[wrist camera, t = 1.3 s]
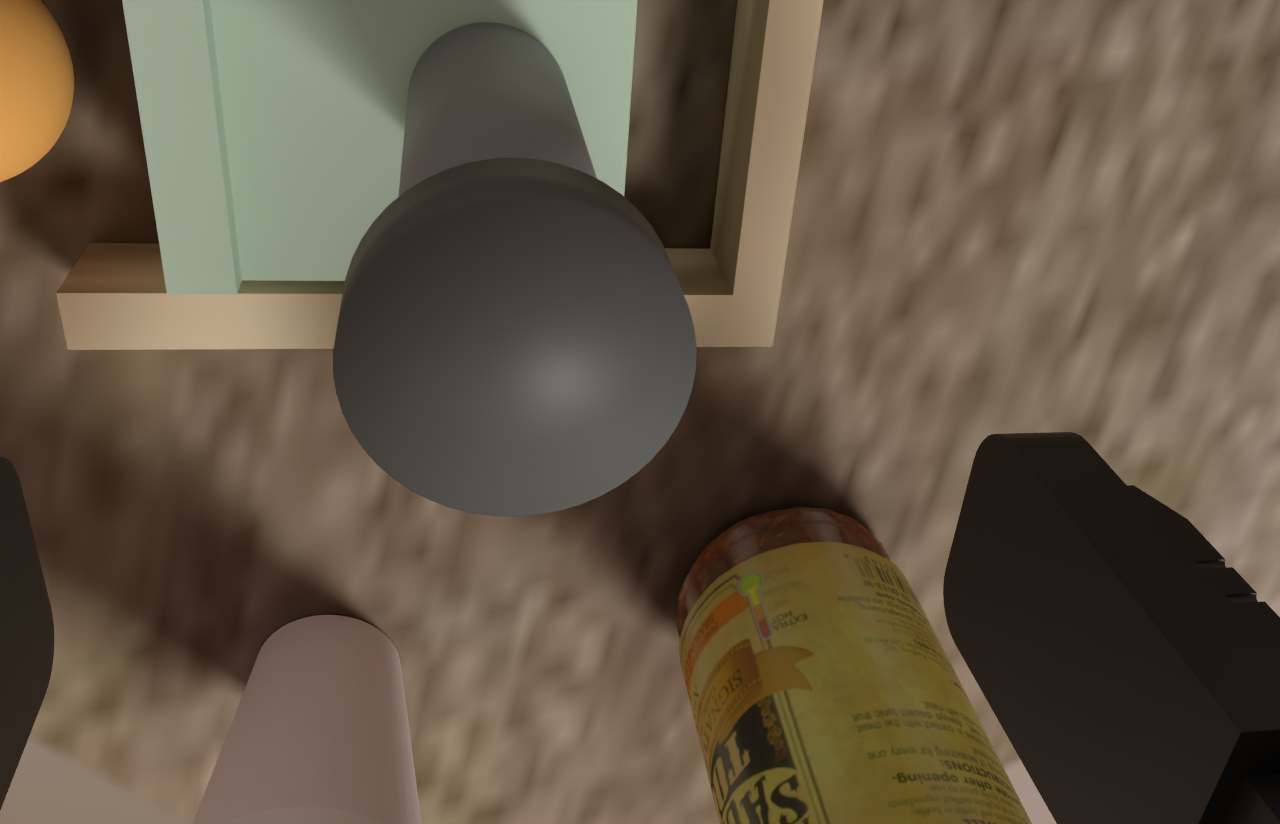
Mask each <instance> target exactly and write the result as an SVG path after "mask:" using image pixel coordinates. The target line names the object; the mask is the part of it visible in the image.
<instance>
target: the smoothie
mask: <svg viewBox="0 0 1280 824" xmlns="http://www.w3.org/2000/svg"><path fill="white" fill-rule="evenodd" d="M193 824H421V817H420V809H419V802H418V794H417V786H416V779H415V771H414V763H413V756H412V748H411V740H410V733H409V725H408V717H407V710H406V702H405V694H404V687H403V679H402V671H401V664H400V658H399V655H398V652H397V650H396V648H395V646H394V644H393V643H392V642H391V640H390V639H389V638H388V637H387V636H386V635H385V634H384V633H383V632H381V631H380V630H379V629H377V628H376V627H374V626H372V625H370V624H368V623H366V622H364V621H361V620H358V619H355V618H351V617H346V616H340V615H317V616H310V617H306V618H302V619H299V620H296V621H293V622H291V623H289V624H286V625H285V626H283V627H281V628H280V629H278V630H277V631H275V632H274V633H273V634H272V635H271V636H270V637H269V638H268V639H267V640H266V641H265V643H264V644H263V646H262V647H261V649H260V651H259V654H258V656H257V659H256V661H255V664H254V667H253V669H252V672H251V674H250V677H249V680H248V682H247V685H246V687H245V690H244V693H243V695H242V698H241V700H240V703H239V706H238V708H237V711H236V713H235V716H234V719H233V721H232V724H231V726H230V729H229V732H228V734H227V737H226V739H225V742H224V745H223V747H222V750H221V752H220V755H219V757H218V760H217V763H216V765H215V768H214V770H213V773H212V776H211V778H210V781H209V783H208V786H207V789H206V791H205V794H204V796H203V799H202V802H201V804H200V807H199V809H198V812H197V815H196V817H195V820H194V822H193Z"/></svg>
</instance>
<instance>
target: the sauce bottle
mask: <svg viewBox="0 0 1280 824" xmlns="http://www.w3.org/2000/svg"><path fill="white" fill-rule="evenodd" d="M678 599H679V607H678V611H677V627H678V632H679V637H680V645H679V653H680V662H681V666H682V670H683V674H684V678H685V682H686V687H687V691H688V695H689V699H690V703H691V707H692V711H693V715H694V719H695V724H696V728H697V732H698V736H699V740H700V744H701V748H702V752H703V757H704V761H705V765H706V769H707V773H708V777H709V781H710V785H711V789H712V793H713V797H714V801H715V806H716V810H717V814H718V818H719V822H720V824H1031V821H1030V819H1029V817H1028V815H1027V813H1026V811H1025V809H1024V807H1023V806H1022V803H1021V802H1020V799H1019V798H1018V795H1017V794H1016V792H1015V790H1014V788H1013V786H1012V784H1011V782H1010V780H1009V778H1008V776H1007V774H1006V772H1005V770H1004V768H1003V766H1002V764H1001V762H1000V760H999V758H998V756H997V754H996V752H995V750H994V748H993V746H992V744H991V742H990V740H989V739H988V737H987V735H986V733H985V731H984V729H983V727H982V725H981V723H980V721H979V719H978V717H977V715H976V713H975V711H974V709H973V707H972V705H971V703H970V701H969V699H968V697H967V695H966V693H965V691H964V689H963V687H962V685H961V683H960V681H959V679H958V677H957V675H956V673H955V671H954V669H953V667H952V665H951V663H950V661H949V659H948V657H947V655H946V653H945V651H944V649H943V648H942V646H941V644H940V642H939V640H938V638H937V636H936V634H935V632H934V630H933V628H932V626H931V624H930V622H929V620H928V618H927V617H926V615H925V613H924V611H923V609H922V607H921V605H920V603H919V601H918V599H917V598H916V596H915V594H914V592H913V590H912V588H911V586H910V585H909V583H908V581H907V579H906V578H905V576H904V574H903V573H902V572H901V571H900V570H899V569H898V568H897V566H896V565H895V564H894V563H893V562H891V561H890V559H889V556H888V554H887V553H886V551H885V549H884V547H883V545H882V544H881V543H880V542H879V541H878V540H877V539H876V538H875V537H874V536H873V535H872V534H871V533H870V532H869V530H867V529H865V528H864V526H863V525H862V524H860V523H859V522H858V521H857V520H855V519H852V518H850V517H849V516H847V515H843V514H840V513H836V512H834V511H832V510H829V509H826V508H809V507H800V506H798V507H794V508H789V509H784V510H773V511H769V512H767V513H764V514H759V515H755V516H752V517H749V518H746V519H744V520H741V521H739V522H738V523H736V524H734V525H733V526H731V527H730V528H729V529H728V530H727V531H723V532H722V533H721V534H720V535H719V536H718V537H716V538H715V539H714V540H713V541H712V542H711V543H710V544H708V545H707V546H706V547H705V549H704V550H703V551H702V552H701V554H700V555H699V556H698V558H697V559H696V561H695V562H694V564H693V566H692V567H691V568H690V570H689V573H688V574H687V576H686V578H685V580H684V582H683V587H682V588H681V590H680V592H679V598H678Z"/></svg>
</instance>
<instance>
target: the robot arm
mask: <svg viewBox="0 0 1280 824" xmlns="http://www.w3.org/2000/svg"><path fill="white" fill-rule="evenodd" d="M943 595H944V608H945V614H946V619H947V623H948V627H949V630H950V633H951V636H952V638H953V640H954V642H955V644H956V646H957V648H958V650H959V651H960V653H961V655H962V657H963V658H964V660H965V662H966V664H967V665H968V667H969V669H970V671H971V673H972V674H973V676H974V678H975V680H976V681H977V683H978V685H979V687H980V688H981V690H982V692H983V694H984V696H985V697H986V699H987V701H988V703H989V704H990V706H991V708H992V710H993V711H994V713H995V715H996V717H997V719H998V720H999V722H1000V724H1001V726H1002V727H1003V729H1004V731H1005V733H1006V734H1007V736H1008V738H1009V740H1010V742H1011V743H1012V745H1013V747H1014V749H1015V750H1016V752H1017V754H1018V756H1019V757H1020V759H1021V761H1022V763H1023V765H1024V766H1025V768H1026V770H1027V771H1028V773H1029V775H1030V777H1031V779H1032V780H1033V782H1034V784H1035V786H1036V788H1037V789H1038V791H1039V793H1040V794H1041V796H1042V798H1043V800H1044V802H1045V803H1046V805H1047V807H1048V809H1049V811H1050V812H1051V814H1052V815H1053V817H1054V819H1055V821H1056V823H1057V824H1280V617H1279V616H1278V615H1277V614H1276V613H1275V612H1274V611H1273V610H1272V609H1271V608H1270V607H1269V606H1268V605H1267V604H1266V602H1258V601H1257V599H1256V592H1255V591H1254V590H1253V589H1252V588H1251V586H1250V585H1249V584H1248V583H1247V582H1246V581H1245V580H1244V579H1243V578H1242V577H1241V576H1240V575H1239V574H1238V573H1237V572H1236V570H1235V569H1234V568H1226V567H1225V559H1224V558H1223V557H1222V556H1221V555H1220V553H1219V552H1218V551H1217V550H1216V549H1215V548H1214V547H1213V546H1212V545H1211V544H1210V543H1209V542H1208V541H1207V540H1206V539H1205V537H1204V536H1203V535H1202V534H1201V533H1200V532H1199V531H1198V530H1197V529H1196V528H1195V527H1194V526H1193V525H1192V524H1191V523H1190V522H1189V520H1188V519H1186V518H1185V517H1183V516H1181V515H1180V514H1178V513H1177V512H1175V511H1173V510H1172V509H1170V508H1169V507H1167V506H1166V505H1164V504H1162V503H1161V502H1159V501H1158V500H1156V499H1154V498H1153V497H1151V496H1150V495H1148V494H1146V493H1145V492H1143V491H1142V490H1140V489H1138V488H1137V487H1135V486H1134V485H1133V486H1127V485H1126V484H1125V483H1124V482H1123V481H1122V480H1121V479H1120V478H1119V476H1118V475H1117V474H1116V473H1115V472H1114V471H1113V470H1112V469H1111V468H1110V467H1109V465H1108V464H1107V463H1106V462H1105V461H1104V460H1103V459H1102V458H1101V457H1100V455H1099V454H1098V453H1097V452H1096V451H1095V450H1094V449H1093V448H1092V447H1091V445H1090V444H1089V443H1088V442H1087V441H1086V440H1085V439H1084V438H1083V437H1082V436H1080V435H1078V434H1076V433H1072V432H1056V433H1017V434H992V435H990V436H988V437H986V438H985V439H984V440H983V441H982V443H981V444H980V446H979V448H978V450H977V452H976V455H975V458H974V461H973V465H972V469H971V473H970V477H969V481H968V485H967V489H966V492H965V496H964V500H963V504H962V508H961V512H960V516H959V520H958V523H957V527H956V531H955V535H954V539H953V543H952V547H951V551H950V554H949V558H948V562H947V566H946V571H945V576H944V588H943ZM53 655H54V624H53V616H52V611H51V606H50V602H49V598H48V594H47V590H46V585H45V581H44V577H43V573H42V569H41V565H40V561H39V557H38V553H37V549H36V545H35V541H34V537H33V533H32V529H31V525H30V520H29V516H28V512H27V508H26V504H25V500H24V496H23V492H22V488H21V484H20V481H19V478H18V475H17V473H16V470H15V469H14V467H13V465H12V464H11V463H10V462H9V461H8V460H7V459H6V458H4V457H0V810H1V807H2V804H3V802H4V799H5V797H6V794H7V792H8V789H9V787H10V784H11V781H12V779H13V776H14V774H15V771H16V768H17V766H18V763H19V760H20V758H21V756H22V753H23V750H24V748H25V745H26V743H27V740H28V738H29V735H30V732H31V730H32V727H33V725H34V722H35V720H36V717H37V714H38V712H39V709H40V707H41V704H42V701H43V699H44V696H45V694H46V691H47V688H48V684H49V680H50V676H51V671H52V664H53Z"/></svg>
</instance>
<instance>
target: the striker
mask: <svg viewBox="0 0 1280 824" xmlns="http://www.w3.org/2000/svg"><path fill="white" fill-rule="evenodd" d="M122 2H123V9H124V15H125V22H126V28H127V35H128V42H129V48H130V55H131V61H132V68H133V75H134V81H135V88H136V94H137V101H138V107H139V114H140V121H141V127H142V134H143V140H144V147H145V153H146V160H147V167H148V173H149V180H150V186H151V193H152V199H153V206H154V213H155V219H156V226H157V232H158V239H159V245H160V252H161V259H162V265H163V272H164V278H165V285H166V291H167V294H238V291H239V288H240V285H241V282H242V280H254V281H345V283H344V289H343V295H342V301H341V306H340V312H339V318H338V324H337V330H336V336H335V342H334V348H333V374H334V381H335V387H336V393H337V396H338V400H339V403H340V406H341V409H342V412H343V415H344V417H345V419H346V421H347V423H348V425H349V427H350V429H351V431H352V433H353V434H354V436H355V437H356V439H357V440H358V442H359V443H360V445H361V446H362V448H363V449H364V450H365V451H366V453H367V454H368V455H369V456H370V457H371V458H372V459H373V460H374V462H375V463H376V464H377V465H378V466H379V467H381V468H382V469H383V470H384V471H385V472H386V473H387V474H389V475H390V476H391V477H392V478H393V479H395V480H396V481H398V482H399V483H401V484H402V485H404V486H405V487H407V488H408V489H410V490H411V491H413V492H415V493H417V494H419V495H421V496H423V497H425V498H427V499H429V500H431V501H434V502H436V503H439V504H442V505H445V506H447V507H450V508H454V509H458V510H462V511H466V512H470V513H475V514H483V515H490V516H512V517H517V516H530V515H540V514H545V513H551V512H556V511H561V510H564V509H567V508H571V507H574V506H577V505H581V504H583V503H585V502H588V501H590V500H592V499H595V498H597V497H600V496H602V495H603V494H605V493H607V492H609V491H611V490H612V489H614V488H616V487H618V486H619V485H621V484H622V483H624V482H625V481H626V480H628V479H629V478H631V477H632V476H633V475H635V474H636V473H637V472H639V471H640V470H641V469H642V468H643V467H644V466H645V465H646V464H647V463H648V462H650V461H651V460H652V459H653V458H654V456H655V455H656V454H657V453H658V452H659V451H660V449H661V448H662V447H663V446H664V445H665V444H666V442H667V441H668V439H669V438H670V436H671V435H672V433H673V432H674V430H675V429H676V427H677V425H678V423H679V421H680V419H681V417H682V415H683V413H684V411H685V409H686V407H687V404H688V401H689V398H690V395H691V392H692V388H693V383H694V377H695V372H696V356H697V346H696V337H695V328H694V325H693V321H692V317H691V313H690V309H689V307H688V304H687V302H686V299H685V297H684V294H683V292H682V289H681V287H680V284H679V282H678V279H677V277H676V275H675V272H674V270H673V267H672V265H671V262H670V260H669V258H668V255H667V253H666V251H665V248H664V246H663V244H662V242H661V240H660V239H659V237H658V235H657V234H656V232H655V230H654V229H653V227H652V226H651V224H650V223H649V222H648V221H647V220H646V218H645V217H644V216H643V215H642V213H641V212H640V211H639V210H638V209H637V208H636V207H635V206H634V205H633V204H632V203H631V202H629V201H628V200H627V199H626V198H625V197H624V192H625V177H626V163H627V148H628V133H629V118H630V103H631V88H632V73H633V59H634V44H635V29H636V14H637V0H122Z"/></svg>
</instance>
